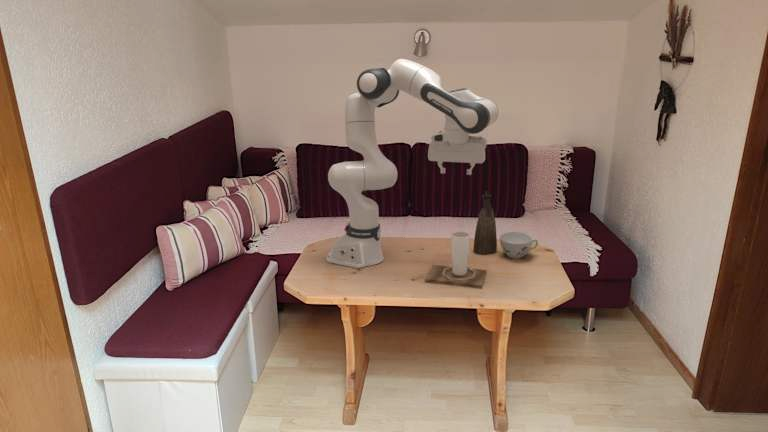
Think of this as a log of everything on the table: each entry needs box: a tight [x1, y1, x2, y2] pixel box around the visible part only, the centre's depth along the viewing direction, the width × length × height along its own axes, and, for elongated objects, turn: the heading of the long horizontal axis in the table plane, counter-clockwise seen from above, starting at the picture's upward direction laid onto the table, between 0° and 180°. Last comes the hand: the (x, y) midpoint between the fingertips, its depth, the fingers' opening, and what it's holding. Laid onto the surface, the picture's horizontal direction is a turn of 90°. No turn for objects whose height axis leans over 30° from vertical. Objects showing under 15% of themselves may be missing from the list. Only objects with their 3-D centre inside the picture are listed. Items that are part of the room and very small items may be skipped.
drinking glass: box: [450, 230, 471, 276], centre depth 193 cm, size 7×7×15 cm
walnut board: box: [424, 264, 487, 289], centre depth 195 cm, size 20×13×2 cm, turn 73°
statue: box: [473, 190, 498, 255], centre depth 213 cm, size 9×8×25 cm
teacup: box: [499, 231, 539, 260], centre depth 212 cm, size 15×12×8 cm
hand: (455, 174), depth 196 cm, fingers open, 8 cm apart
